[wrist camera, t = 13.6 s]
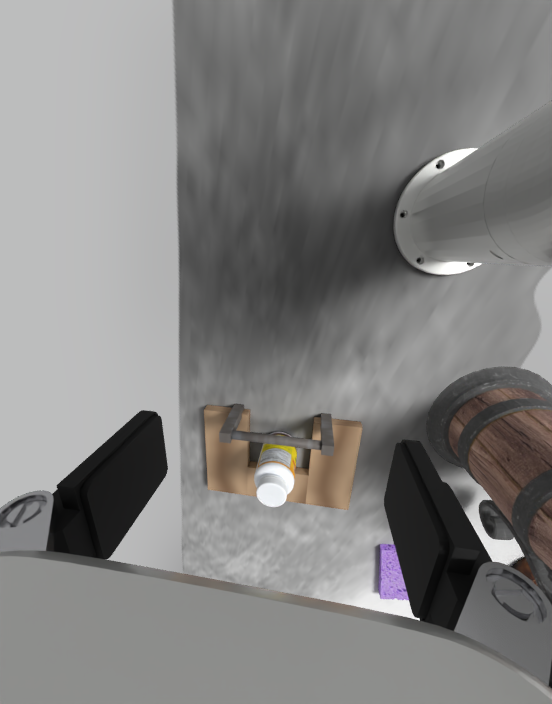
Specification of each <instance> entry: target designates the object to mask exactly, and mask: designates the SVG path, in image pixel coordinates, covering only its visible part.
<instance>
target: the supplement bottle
mask: <svg viewBox="0 0 552 704" xmlns="http://www.w3.org/2000/svg"><path fill="white" fill-rule="evenodd" d="M271 435H279V436H287V437H292V436H290V435H289V434H287V433H284V432H274V433H271ZM296 458H297V447H291V446H282V445H274V444H266V443H263V446H262V450H261V453H260V457H259V461H258V464H257V468H256V471H255V475H254V482H255V485H256V487H257V491H256V494H257V498H258V499H259V501H260V502H261V503H263V504H264V505H266V506H270V507H277V506H280V505H282V504H283V503H284V502H285V501H286V498H287V494H289V493H290V492H291V491H292V489H293V486H294V481H295V469H296Z"/></svg>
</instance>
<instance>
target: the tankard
mask: <svg viewBox="0 0 552 704" xmlns="http://www.w3.org/2000/svg"><path fill="white" fill-rule="evenodd" d="M427 434H428V437H429V441H430V443H431V444H432V446H433V448H434V449H435V450H436V452H437V453H438V454H439V455H440V456H441V457H443V458H444V459H446V460H447V461H448V462H450V463H452V464H455V465H457V466H459V467H463V468H465V469H466V471H467V472H468V473H469V475H470V476H471V477H472V478H473V479H474V480H475V481H476V482H477V483H478V484H480V485H481V486H482V487H483V488H484V490H485V491H486V492H487V494H488V495H489V496H490V497H491V499H492V500H483V501H482V502H481V503H480V505H479V514H480V519H481V522H482V525H483V527H484V529H485V531H486V533H487V534H488V535H489V536H490V537H491V538H493V539H498V540H511V539H513V538H514V537H515V539H516V541H517V542H518V544H519V546H520V548H521V550H522V552H523V554H524V556H525V558H526V560H527V562H528V565H529V567H530V569H531V572H532V574H533V576H534V578H535V581H536V583H537V585H538V587H539V588H540V589H541V590H542V592H543V593H544V594H545V596H546V597H547V598H548V600H549V601H550V603H551V605H552V385H551V384H550V383H549V382H548V381H546V380H545V379H544V378H542V377H541V376H540V375H538V374H535V373H533V372H531V371H529V370H525V369H521V368H516V367H493V368H486V369H482V370H479V371H475V372H472V373H470V374H468V375H466V376H463V377H461V378H459V379H458V380H456V381H455V382H453V383H452V384H450V385H449V386H448V387H447V388H446V389H445V390H444V391H443V392H441V393H440V395H439V396H438V397H437V399H436V400H435V401H434V403H433V405H432V407H431V409H430V411H429V415H428V419H427Z"/></svg>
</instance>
